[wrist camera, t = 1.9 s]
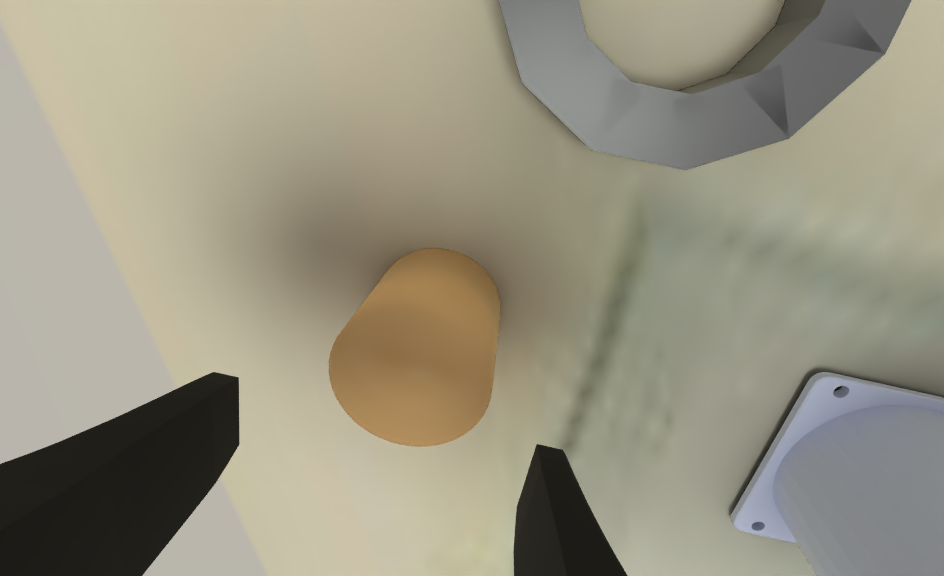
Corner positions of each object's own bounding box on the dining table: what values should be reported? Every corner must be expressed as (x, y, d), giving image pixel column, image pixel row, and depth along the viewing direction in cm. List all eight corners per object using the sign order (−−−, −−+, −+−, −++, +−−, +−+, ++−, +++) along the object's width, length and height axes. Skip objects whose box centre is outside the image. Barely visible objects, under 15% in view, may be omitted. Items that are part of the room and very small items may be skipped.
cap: (513, 263, 17) (508, 326, 13) (487, 372, 19) (474, 461, 15) (385, 235, 17) (335, 288, 13) (371, 346, 19) (323, 427, 15)
